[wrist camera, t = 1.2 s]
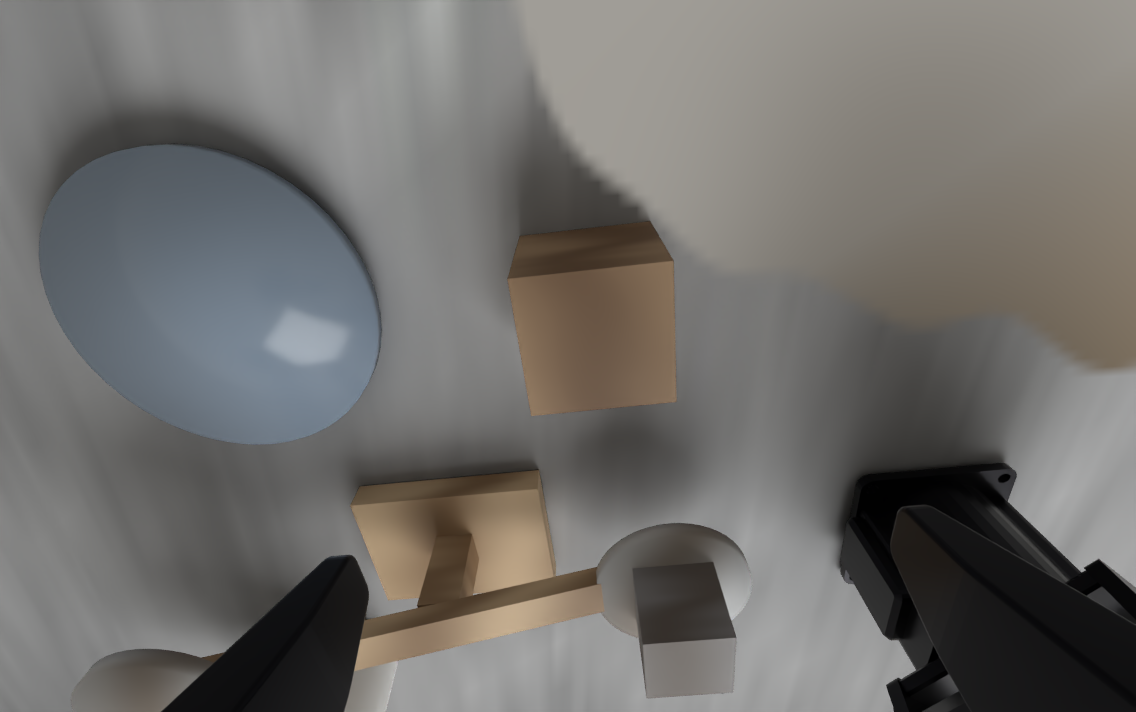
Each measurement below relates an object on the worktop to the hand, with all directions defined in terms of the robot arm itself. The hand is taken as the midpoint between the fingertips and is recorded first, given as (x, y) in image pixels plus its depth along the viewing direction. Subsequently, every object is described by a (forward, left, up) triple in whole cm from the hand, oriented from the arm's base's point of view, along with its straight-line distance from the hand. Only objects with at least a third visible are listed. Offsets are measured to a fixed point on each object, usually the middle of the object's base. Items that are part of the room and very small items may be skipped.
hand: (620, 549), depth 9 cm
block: (0, 0, -12) cm, 12 cm away
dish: (+13, -1, -12) cm, 18 cm away
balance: (+7, +11, -12) cm, 18 cm away
